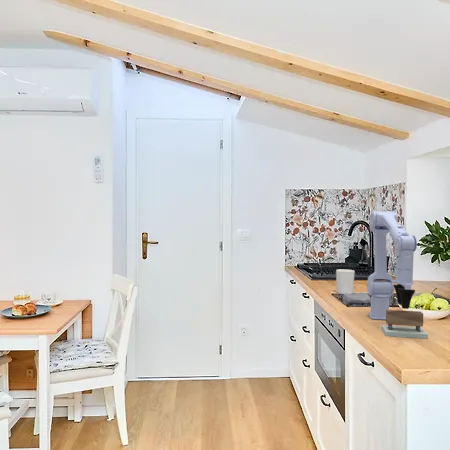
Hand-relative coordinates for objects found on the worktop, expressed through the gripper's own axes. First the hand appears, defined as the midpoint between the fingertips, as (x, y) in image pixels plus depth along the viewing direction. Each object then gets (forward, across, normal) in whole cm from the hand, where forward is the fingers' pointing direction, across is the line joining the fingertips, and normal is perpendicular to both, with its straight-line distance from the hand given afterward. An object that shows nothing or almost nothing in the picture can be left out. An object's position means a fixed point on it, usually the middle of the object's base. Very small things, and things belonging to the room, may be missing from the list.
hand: (403, 306), depth 174 cm
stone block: (+10, -58, -10) cm, 60 cm away
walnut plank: (+6, 0, 0) cm, 6 cm away
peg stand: (+10, +1, 0) cm, 10 cm away
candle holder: (+10, -82, -14) cm, 84 cm away
